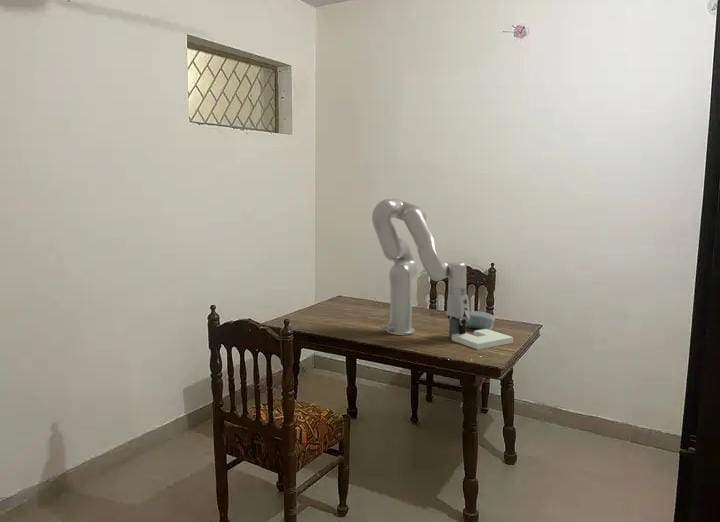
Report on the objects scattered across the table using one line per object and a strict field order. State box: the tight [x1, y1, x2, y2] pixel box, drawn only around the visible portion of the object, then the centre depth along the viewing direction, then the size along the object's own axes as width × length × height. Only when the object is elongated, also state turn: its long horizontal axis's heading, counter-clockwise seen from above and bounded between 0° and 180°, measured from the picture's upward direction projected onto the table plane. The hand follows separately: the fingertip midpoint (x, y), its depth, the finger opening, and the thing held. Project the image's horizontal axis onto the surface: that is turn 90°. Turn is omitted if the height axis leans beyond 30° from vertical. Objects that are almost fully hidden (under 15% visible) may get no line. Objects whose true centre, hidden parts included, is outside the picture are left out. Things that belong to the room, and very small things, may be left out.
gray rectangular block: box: [448, 318, 463, 339], centre depth 240 cm, size 4×4×8 cm
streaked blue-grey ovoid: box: [465, 310, 496, 330], centre depth 255 cm, size 14×10×10 cm
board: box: [451, 329, 514, 350], centre depth 235 cm, size 20×16×2 cm
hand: (457, 332), depth 240 cm, fingers open, 5 cm apart
